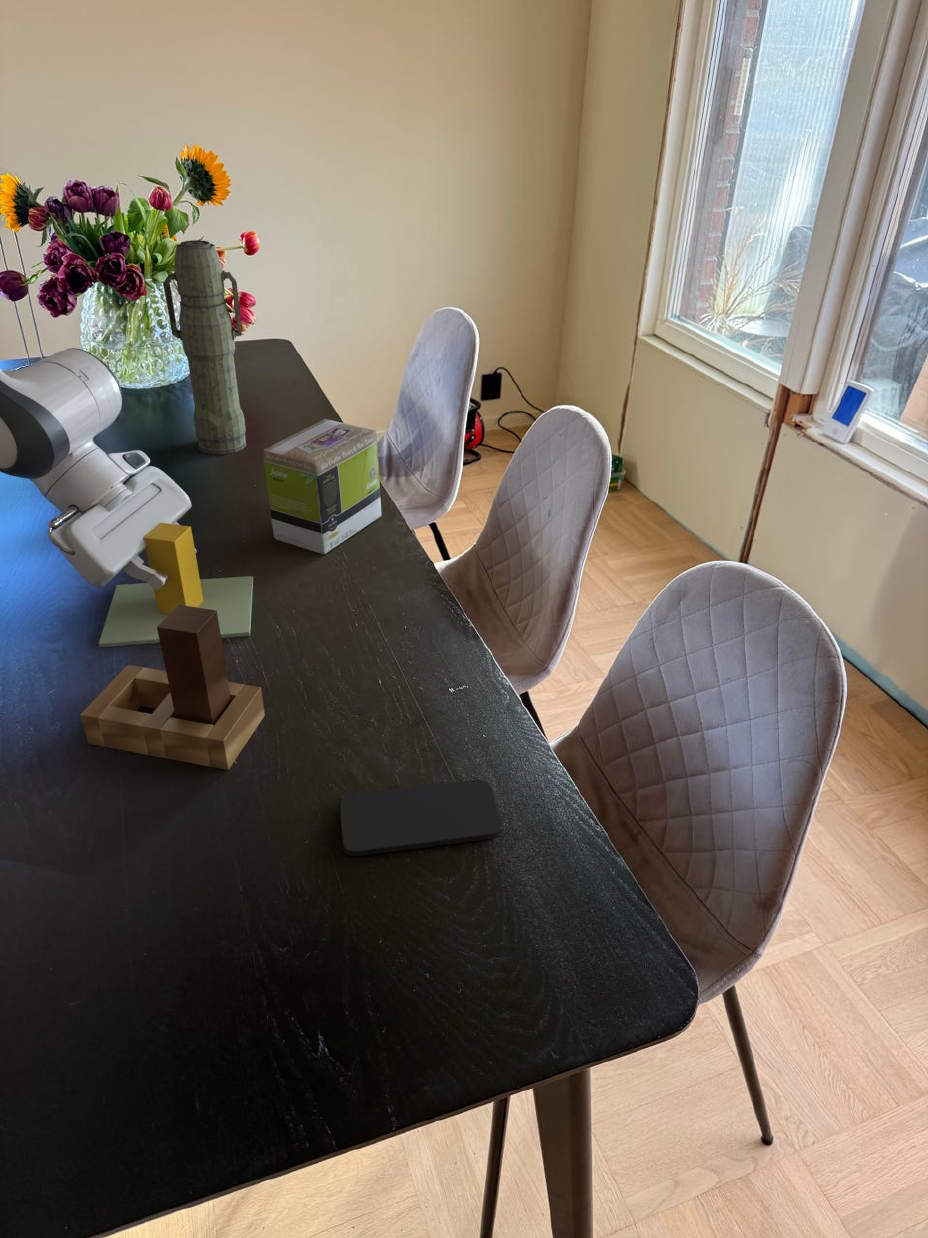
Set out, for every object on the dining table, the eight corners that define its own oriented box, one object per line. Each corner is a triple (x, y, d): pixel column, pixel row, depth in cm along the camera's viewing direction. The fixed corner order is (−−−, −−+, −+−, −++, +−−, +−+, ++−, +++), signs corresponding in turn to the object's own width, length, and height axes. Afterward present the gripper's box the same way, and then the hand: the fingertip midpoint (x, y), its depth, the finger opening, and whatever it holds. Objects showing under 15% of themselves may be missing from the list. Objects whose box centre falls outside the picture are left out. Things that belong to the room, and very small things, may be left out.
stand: (88, 744, 90) (79, 714, 88) (134, 692, 97) (127, 664, 95) (228, 770, 87) (223, 741, 85) (265, 715, 95) (261, 687, 92)
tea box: (332, 503, 140) (326, 415, 131) (382, 518, 136) (380, 428, 127) (271, 539, 129) (260, 447, 120) (324, 557, 125) (317, 462, 116)
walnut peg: (181, 744, 90) (156, 626, 82) (199, 719, 94) (178, 604, 86) (217, 751, 90) (196, 633, 81) (235, 725, 93) (216, 610, 85)
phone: (338, 795, 84) (488, 777, 86) (339, 801, 84) (488, 783, 86) (343, 853, 77) (504, 832, 80) (343, 859, 78) (504, 839, 80)
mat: (99, 647, 104) (98, 643, 104) (117, 588, 116) (116, 584, 116) (250, 636, 107) (249, 632, 107) (253, 579, 119) (252, 575, 119)
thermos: (187, 439, 161) (155, 238, 141) (251, 434, 164) (228, 236, 145) (190, 457, 154) (157, 248, 134) (257, 451, 157) (234, 246, 138)
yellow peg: (158, 612, 110) (142, 537, 104) (174, 596, 114) (160, 522, 108) (188, 617, 109) (174, 541, 103) (203, 600, 113) (191, 526, 107)
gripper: (51, 513, 94) (147, 600, 98) (148, 445, 111) (228, 522, 115) (26, 543, 98) (120, 626, 101) (124, 473, 114) (202, 547, 118)
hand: (178, 570), depth 108 cm, fingers open, 6 cm apart
